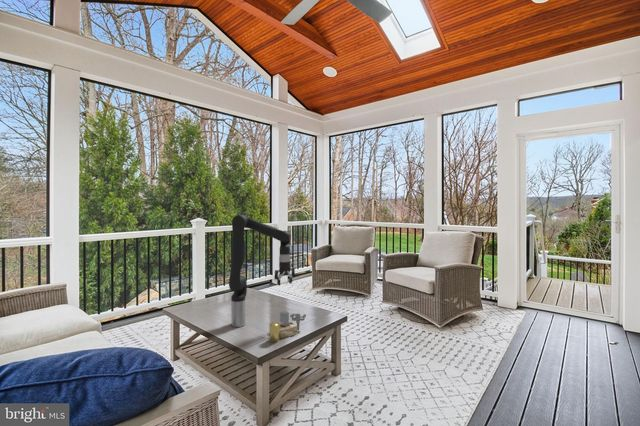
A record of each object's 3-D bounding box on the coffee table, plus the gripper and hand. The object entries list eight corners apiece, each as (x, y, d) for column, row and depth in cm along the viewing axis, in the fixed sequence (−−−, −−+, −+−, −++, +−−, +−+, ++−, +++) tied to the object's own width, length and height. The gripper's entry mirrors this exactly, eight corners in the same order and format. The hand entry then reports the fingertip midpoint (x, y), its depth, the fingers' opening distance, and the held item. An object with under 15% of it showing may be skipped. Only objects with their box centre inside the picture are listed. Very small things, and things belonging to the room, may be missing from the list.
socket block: (271, 331, 205) (271, 324, 205) (288, 327, 212) (288, 320, 211) (280, 338, 195) (280, 330, 195) (297, 333, 202) (297, 326, 202)
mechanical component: (305, 329, 208) (305, 314, 207) (290, 330, 207) (290, 315, 207) (305, 328, 211) (305, 313, 210) (290, 328, 210) (290, 313, 210)
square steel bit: (280, 330, 204) (280, 312, 203) (285, 329, 206) (285, 311, 205) (283, 333, 201) (283, 314, 200) (288, 331, 203) (288, 313, 202)
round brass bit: (268, 339, 194) (267, 323, 193) (276, 337, 197) (276, 321, 196) (272, 343, 189) (272, 326, 188) (281, 340, 192) (281, 324, 192)
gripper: (291, 258, 221) (291, 281, 222) (272, 260, 213) (272, 284, 214) (296, 260, 215) (296, 284, 215) (277, 262, 207) (277, 287, 207)
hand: (284, 284), depth 214 cm, fingers open, 8 cm apart
